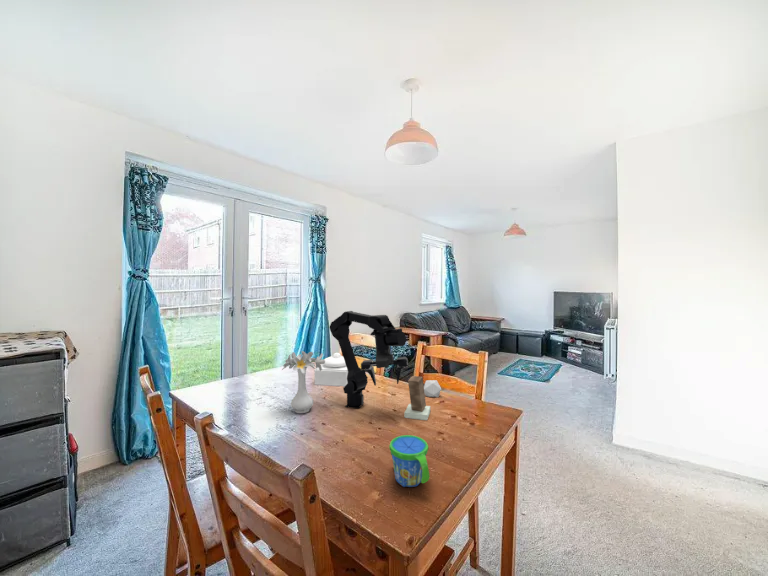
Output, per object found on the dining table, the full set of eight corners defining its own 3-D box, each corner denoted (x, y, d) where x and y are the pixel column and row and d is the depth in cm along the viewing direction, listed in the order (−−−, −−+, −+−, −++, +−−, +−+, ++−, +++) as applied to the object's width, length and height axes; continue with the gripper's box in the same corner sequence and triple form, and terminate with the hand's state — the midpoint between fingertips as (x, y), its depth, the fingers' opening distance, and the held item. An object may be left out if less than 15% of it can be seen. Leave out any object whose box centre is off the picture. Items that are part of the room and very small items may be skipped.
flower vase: (329, 406, 139) (328, 350, 138) (293, 421, 124) (293, 358, 124) (310, 399, 147) (310, 346, 146) (275, 413, 133) (274, 353, 132)
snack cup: (440, 491, 83) (440, 453, 83) (405, 503, 79) (405, 463, 78) (411, 460, 97) (411, 428, 97) (380, 469, 93) (380, 435, 93)
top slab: (404, 417, 125) (404, 412, 124) (409, 408, 133) (409, 403, 133) (427, 420, 122) (427, 415, 122) (430, 410, 131) (430, 406, 131)
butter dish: (314, 385, 167) (314, 355, 167) (326, 375, 185) (326, 348, 185) (346, 387, 164) (346, 356, 164) (355, 376, 182) (355, 349, 181)
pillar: (411, 409, 127) (408, 380, 125) (415, 404, 131) (412, 375, 129) (422, 411, 125) (418, 381, 123) (426, 405, 129) (422, 376, 127)
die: (436, 403, 143) (446, 384, 146) (420, 393, 144) (430, 374, 147) (433, 403, 151) (443, 385, 154) (418, 393, 152) (427, 375, 155)
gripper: (356, 351, 122) (360, 391, 121) (404, 347, 120) (408, 388, 119) (361, 346, 133) (365, 384, 132) (405, 343, 131) (409, 380, 130)
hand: (386, 384), depth 128 cm, fingers open, 9 cm apart
